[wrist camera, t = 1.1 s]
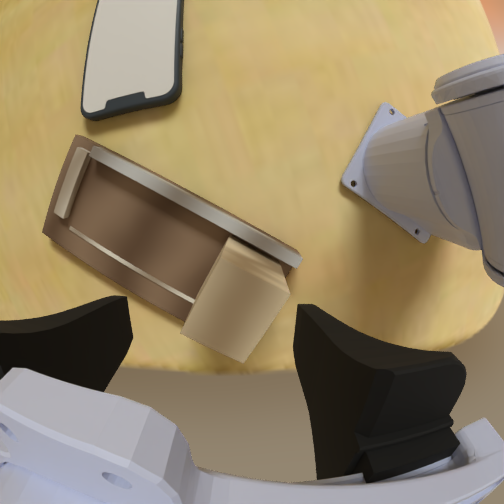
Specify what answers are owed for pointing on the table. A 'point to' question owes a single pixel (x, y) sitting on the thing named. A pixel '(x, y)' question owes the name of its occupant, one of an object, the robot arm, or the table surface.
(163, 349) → the table surface
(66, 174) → the board
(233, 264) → the block
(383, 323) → the table surface
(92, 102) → the smartphone
